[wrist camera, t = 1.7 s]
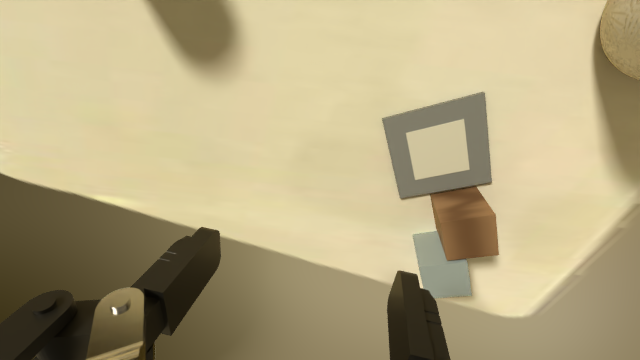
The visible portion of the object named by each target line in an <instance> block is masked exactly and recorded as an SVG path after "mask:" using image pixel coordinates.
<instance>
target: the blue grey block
mask: <svg viewBox="0 0 640 360" xmlns="http://www.w3.org/2000/svg"><path fill="white" fill-rule="evenodd" d="M413 240H414V245H415V250H416V255H417V260H418V266H419V270H420V275H421V279H422V284H423V288H424V289H426V290H429V292H430V293H431V295H432V296H433V298H446V297H459V296H472V293H471V285H470V278H469V270H468V263H467V260H466V259H457V260H448V261H447V259H446V256H445V253H444V250H443V247H442V244H441V241H440V238H439V235H438V232H437V231H434V232H427V233H420V234H413Z"/></svg>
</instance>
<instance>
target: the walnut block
mask: <svg viewBox="0 0 640 360" xmlns="http://www.w3.org/2000/svg"><path fill="white" fill-rule="evenodd" d="M430 196H431V201H432V207H433V213H434V218H435V224H436V229H437V232H438V235H439V238H440V241H441V244H442V247H443V250H444V253H445V256H446V259H447V261H448V260H457V259H466V258H475V257H484V256H493V255H499V253H498V240H497V227H496V215H495V213H494V212H493V210H492V209H491V207H490V206H489V205H488V203H487V202H486V200H485V199H484V197H483V196H482V194H481V193H480V192H479V190H478V189H477V187H476V186H475V187H469V188H463V189H458V190H452V191H446V192H441V193H435V194H430Z"/></svg>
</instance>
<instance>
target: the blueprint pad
mask: <svg viewBox="0 0 640 360" xmlns="http://www.w3.org/2000/svg"><path fill="white" fill-rule="evenodd" d="M382 121H383V125H384V129H385V134H386V138H387V143H388V147H389V151H390V156H391V160H392V165H393V169H394V173H395V178H396V182H397V187H398V191H399V196H400V198H405V197H411V196H416V195H422V194H428V193H433V192H439V191H444V190H450V189H456V188H461V187H467V186H473V185H478V184H484V183H489V182H492V178H491V165H490V153H489V140H488V127H487V114H486V101H485V93H484V92H481V93H477V94H473V95H469V96H466V97H462V98H458V99H454V100H450V101H447V102H443V103H439V104H435V105H431V106H427V107H424V108H420V109H416V110H412V111H408V112H405V113H401V114H397V115H393V116H389V117H386V118H382Z"/></svg>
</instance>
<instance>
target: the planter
mask: <svg viewBox="0 0 640 360" xmlns="http://www.w3.org/2000/svg"><path fill="white" fill-rule="evenodd" d="M600 39H601V44H602V48H603V50H604V53H605V55H606V56H607V58H608V59H609V61H610V62H611V63H612V64H613V65H614V66H615V67H616V68H617V69H618V70H620V71H621V72H623V73H624V74H626V75H628V76H630V77H632V78H635V79H637V80H640V0H607V3H606V5H605V8H604V11H603V14H602V19H601V25H600Z"/></svg>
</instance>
